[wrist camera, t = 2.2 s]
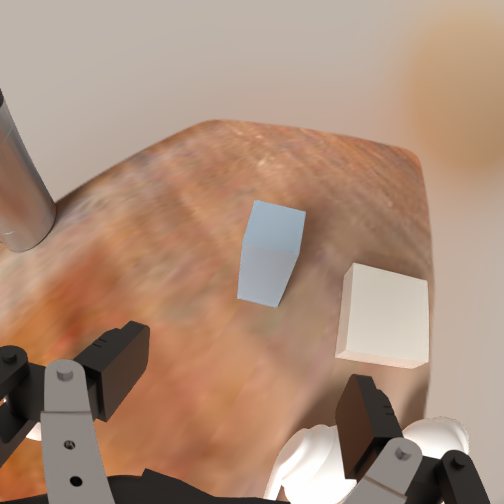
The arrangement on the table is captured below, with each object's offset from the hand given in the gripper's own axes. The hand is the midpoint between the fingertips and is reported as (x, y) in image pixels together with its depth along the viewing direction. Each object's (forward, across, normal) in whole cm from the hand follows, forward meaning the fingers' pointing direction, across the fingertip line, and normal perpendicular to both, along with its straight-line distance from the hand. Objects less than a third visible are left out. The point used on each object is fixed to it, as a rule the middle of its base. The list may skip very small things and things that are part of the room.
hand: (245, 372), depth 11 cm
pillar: (+20, 0, +3) cm, 20 cm away
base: (+19, -13, +4) cm, 23 cm away
